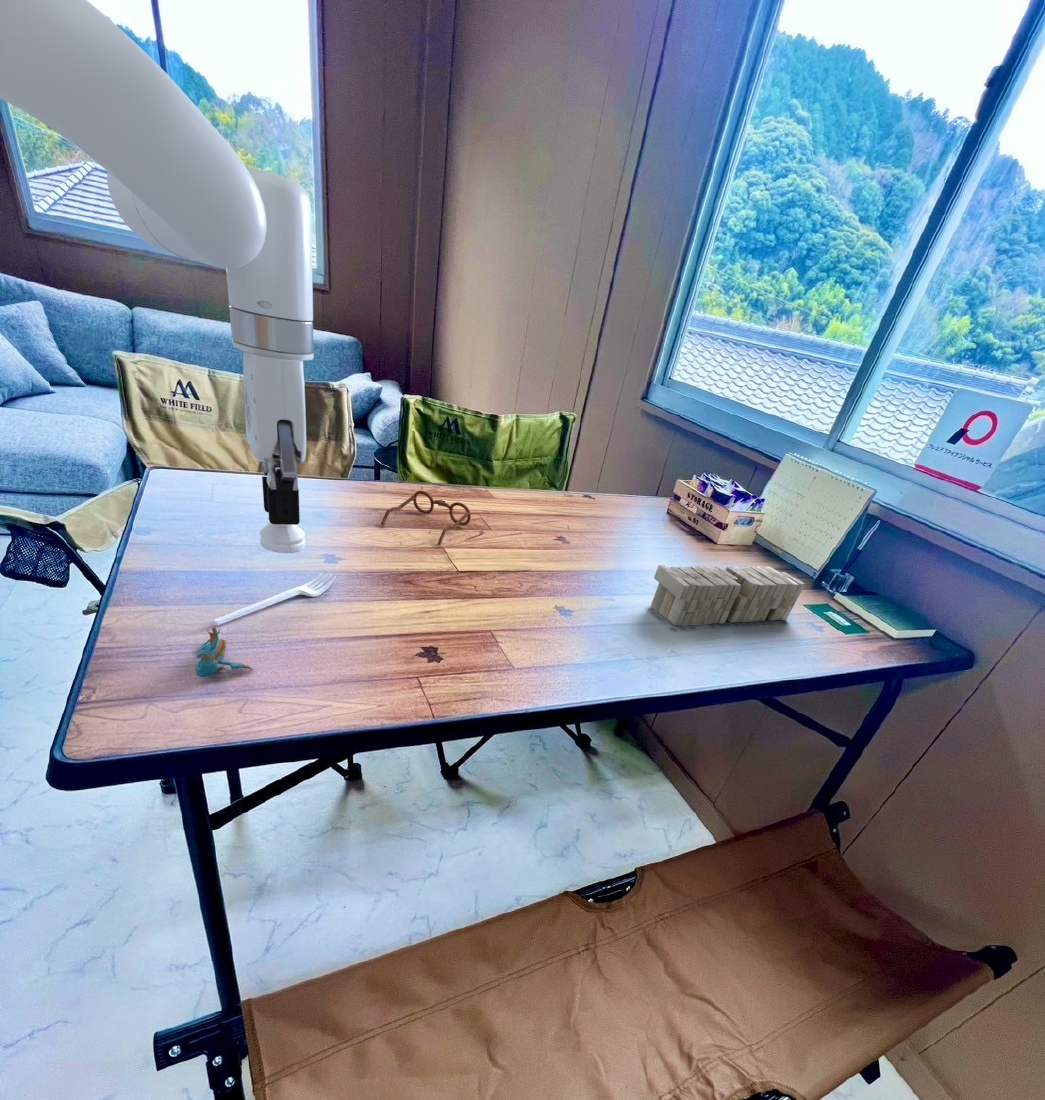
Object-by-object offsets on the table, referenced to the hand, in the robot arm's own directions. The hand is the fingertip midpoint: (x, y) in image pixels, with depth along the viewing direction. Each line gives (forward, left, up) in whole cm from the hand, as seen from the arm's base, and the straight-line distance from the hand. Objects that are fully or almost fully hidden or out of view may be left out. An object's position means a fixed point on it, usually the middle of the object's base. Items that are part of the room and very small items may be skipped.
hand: (281, 516), depth 68 cm
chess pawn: (0, 0, -4) cm, 4 cm away
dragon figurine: (-9, -7, -15) cm, 19 cm away
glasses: (+32, +36, -15) cm, 51 cm away
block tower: (+74, -5, -15) cm, 76 cm away
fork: (0, +7, -15) cm, 17 cm away
